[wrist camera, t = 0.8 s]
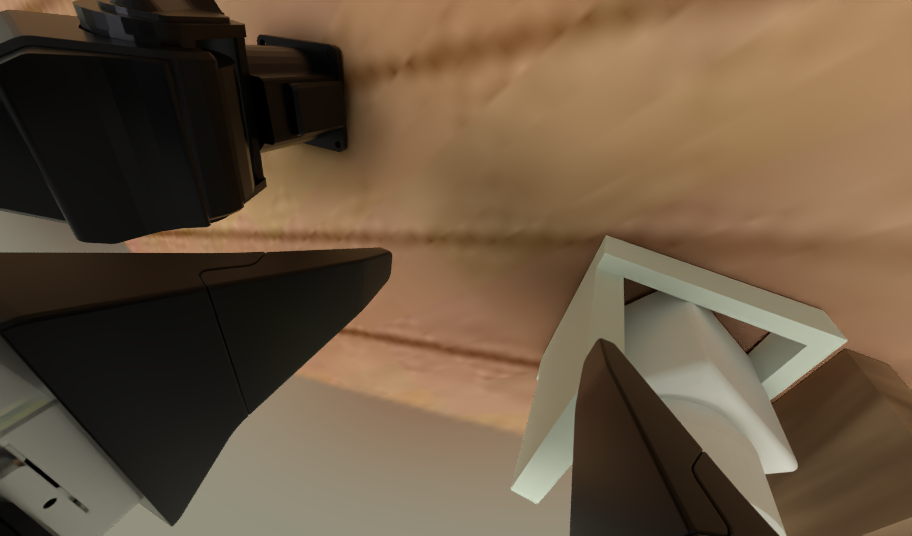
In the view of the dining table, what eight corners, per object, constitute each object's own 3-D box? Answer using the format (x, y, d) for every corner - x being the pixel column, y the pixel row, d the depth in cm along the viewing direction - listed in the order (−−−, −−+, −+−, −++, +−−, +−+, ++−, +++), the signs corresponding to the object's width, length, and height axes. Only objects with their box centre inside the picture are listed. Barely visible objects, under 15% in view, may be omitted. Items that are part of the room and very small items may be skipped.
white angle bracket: (542, 356, 27) (504, 496, 18) (605, 234, 20) (595, 364, 12) (693, 424, 24) (734, 623, 16) (823, 310, 18) (1018, 549, 9)
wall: (744, 424, 23) (791, 561, 17) (845, 348, 18) (962, 498, 12) (777, 438, 23) (838, 584, 16) (888, 364, 18) (1033, 527, 12)
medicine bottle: (641, 391, 25) (654, 595, 15) (579, 323, 24) (554, 494, 14) (753, 361, 20) (869, 618, 11) (683, 276, 20) (743, 476, 10)
